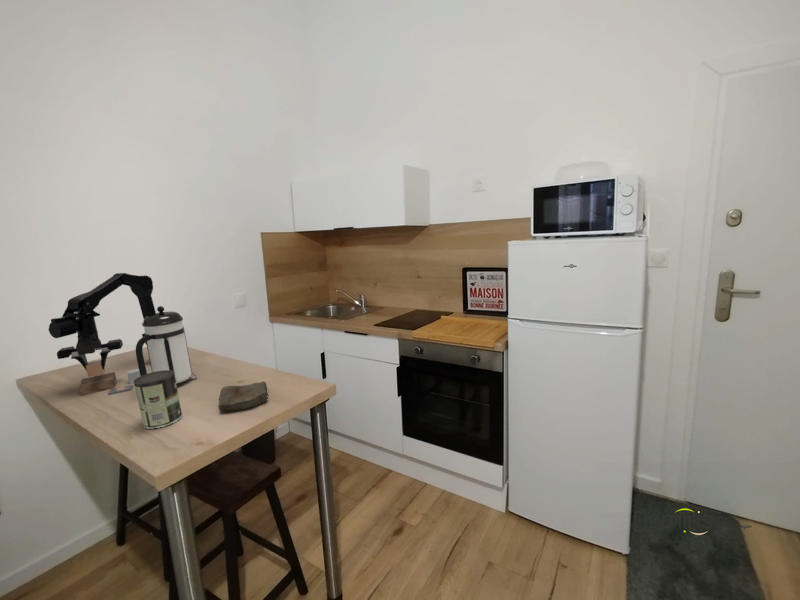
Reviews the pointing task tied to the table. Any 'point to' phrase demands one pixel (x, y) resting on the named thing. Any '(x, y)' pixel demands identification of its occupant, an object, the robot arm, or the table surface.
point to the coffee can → (158, 399)
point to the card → (120, 389)
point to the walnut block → (98, 383)
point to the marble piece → (242, 396)
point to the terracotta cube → (94, 368)
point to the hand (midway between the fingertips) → (96, 370)
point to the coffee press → (165, 345)
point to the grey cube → (133, 375)
